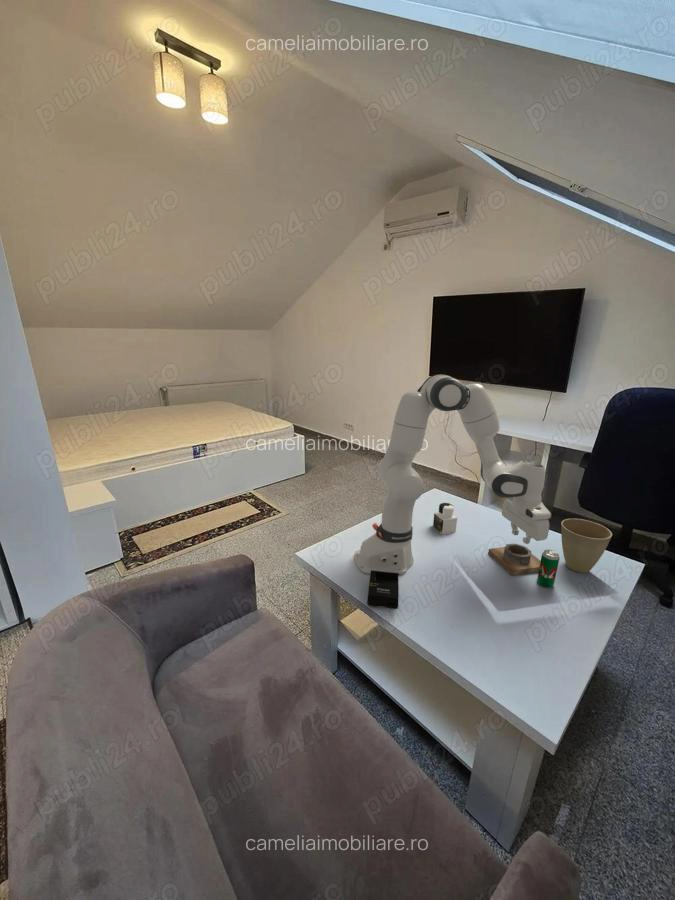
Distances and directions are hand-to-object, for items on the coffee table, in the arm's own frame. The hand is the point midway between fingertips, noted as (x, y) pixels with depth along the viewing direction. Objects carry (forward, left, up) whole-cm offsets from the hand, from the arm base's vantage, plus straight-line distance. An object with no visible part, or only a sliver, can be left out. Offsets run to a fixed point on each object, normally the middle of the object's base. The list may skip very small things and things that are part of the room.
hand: (520, 538), depth 132 cm
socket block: (0, 0, -10) cm, 10 cm away
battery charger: (-55, -7, -10) cm, 56 cm away
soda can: (+1, -13, -10) cm, 17 cm away
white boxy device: (-16, +27, -10) cm, 33 cm away
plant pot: (+20, -7, -10) cm, 23 cm away
